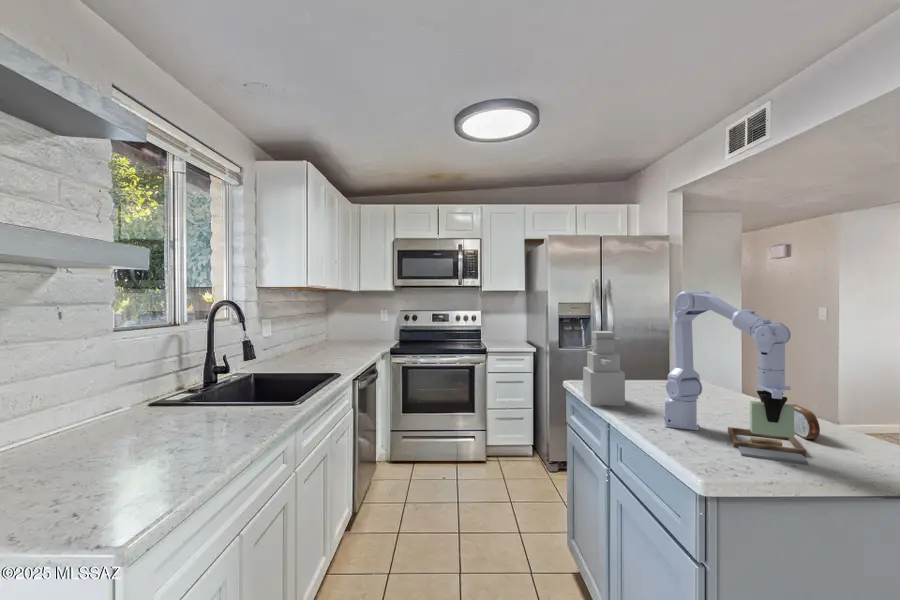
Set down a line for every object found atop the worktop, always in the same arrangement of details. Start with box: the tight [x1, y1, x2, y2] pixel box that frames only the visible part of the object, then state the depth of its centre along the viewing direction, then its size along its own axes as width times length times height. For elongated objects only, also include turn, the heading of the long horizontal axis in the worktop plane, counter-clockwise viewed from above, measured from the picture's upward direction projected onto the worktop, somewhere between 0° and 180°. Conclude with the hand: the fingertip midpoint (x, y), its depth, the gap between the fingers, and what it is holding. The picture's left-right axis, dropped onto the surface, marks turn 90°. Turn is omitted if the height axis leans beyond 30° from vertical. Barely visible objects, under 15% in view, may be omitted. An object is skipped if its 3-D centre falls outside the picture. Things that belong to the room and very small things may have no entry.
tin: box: [792, 403, 821, 441], centre depth 132 cm, size 15×3×8 cm, turn 168°
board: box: [749, 400, 795, 438], centre depth 115 cm, size 9×3×8 cm, turn 63°
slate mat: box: [737, 446, 809, 465], centre depth 116 cm, size 14×6×1 cm, turn 63°
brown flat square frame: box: [727, 426, 807, 457], centre depth 125 cm, size 16×15×2 cm
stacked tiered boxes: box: [582, 330, 626, 407], centre depth 175 cm, size 13×24×28 cm, turn 175°
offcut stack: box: [746, 436, 784, 447], centre depth 123 cm, size 8×2×2 cm, turn 63°
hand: (771, 420), depth 115 cm, fingers closed on board, 3 cm apart
